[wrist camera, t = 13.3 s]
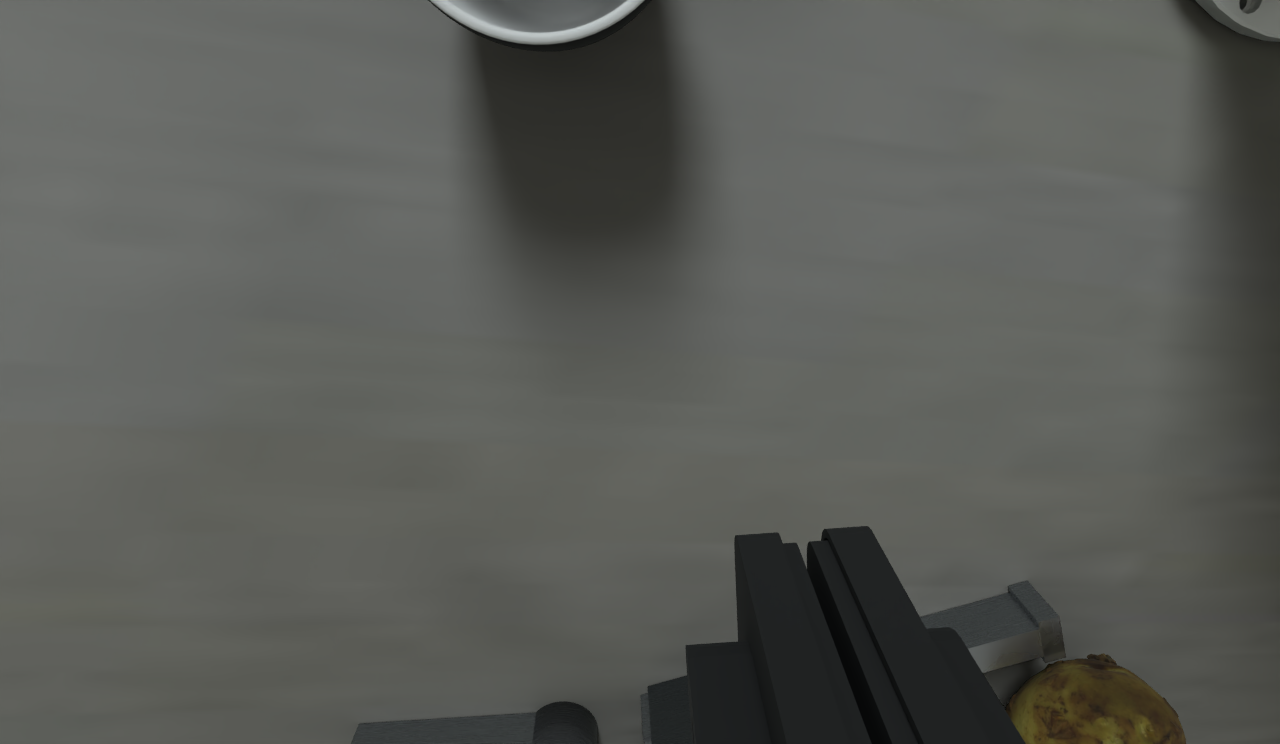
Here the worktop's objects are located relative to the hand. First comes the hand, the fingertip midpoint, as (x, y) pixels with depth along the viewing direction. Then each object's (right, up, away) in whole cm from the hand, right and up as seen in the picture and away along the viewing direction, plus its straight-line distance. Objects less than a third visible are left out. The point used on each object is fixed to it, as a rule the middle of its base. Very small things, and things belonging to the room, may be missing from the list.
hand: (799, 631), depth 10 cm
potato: (+19, -15, +33) cm, 41 cm away
